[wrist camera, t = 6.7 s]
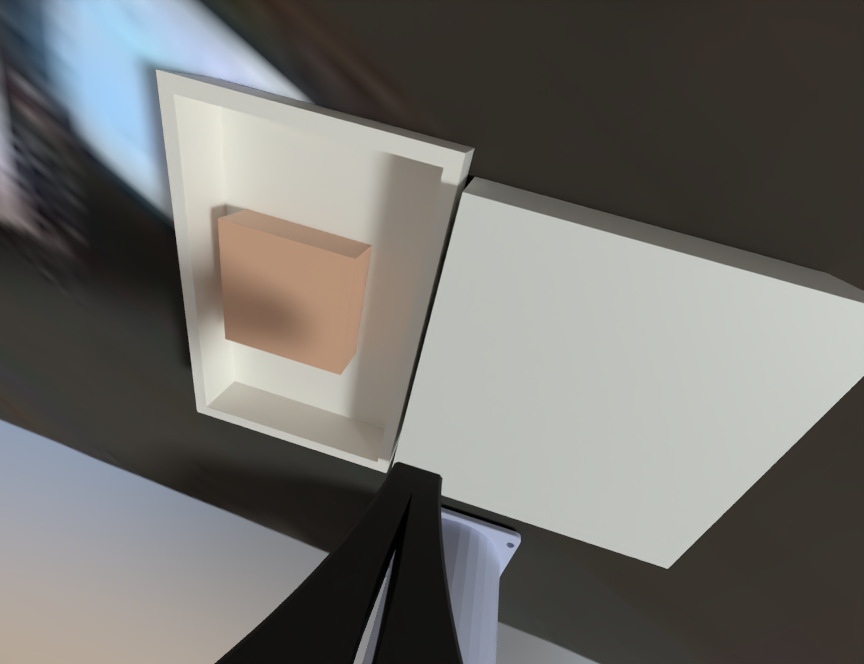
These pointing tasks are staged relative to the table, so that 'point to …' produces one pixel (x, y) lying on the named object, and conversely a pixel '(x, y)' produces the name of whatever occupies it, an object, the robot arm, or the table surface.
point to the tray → (320, 209)
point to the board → (618, 370)
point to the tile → (292, 289)
